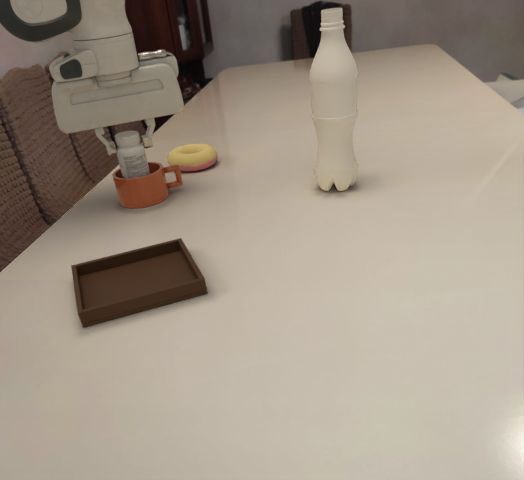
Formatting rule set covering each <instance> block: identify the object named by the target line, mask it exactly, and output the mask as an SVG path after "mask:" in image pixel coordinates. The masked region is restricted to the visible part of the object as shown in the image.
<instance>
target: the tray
mask: <svg viewBox="0 0 524 480" xmlns="http://www.w3.org/2000/svg"><path fill="white" fill-rule="evenodd" d="M71 273H72V281H73V288H74V296H75V305H76V310H77V316H78V318H79V320H80V323H81V325H82V328H87V327H91V326H93V325H97V324H100V323H104V322H108V321H112V320H115V319H119V318H123V317H126V316H130V315H133V314H136V313H141V312H144V311H145V312H146V311H148V310H151V309H155V308H159V307H162V306H166V305H169V304H173V303H177V302H180V301H184V300H187V299H188V300H189V299H191V298H192V299H193V298H195V297H198V296H199V297H200V296H203V295H207V294H208V288H207V283H206V279H205V277H204V275H203V273H202V271H201V270H200V268H199V266H198V265H197V262H196V261H195V259H194V257H193V256H192V254H191V253H190V251H189V249H188V247H187V245H186V244H185V242H184V240H183V239H182V238H181V237H180V238H179V237H178V238H176V239H172V240H167V241H163V242H159V243H156V244H150V245H148V246H144V247H139V248H135V249H132V250H128V251H124V252H120V253H116V254H112V255H108V256H104V257H100V258H95V259H92V260H88V261H84V262H80V263H76V264H72V265H71Z"/></svg>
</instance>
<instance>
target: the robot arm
mask: <svg viewBox="0 0 524 480" xmlns="http://www.w3.org/2000/svg"><path fill="white" fill-rule="evenodd" d="M0 25H1V27H3V28H4V29H5V30H6V31H7V32H8V33H9V34H11V35H12V36H14V37H16V38H17V39H20V40H21V41H24V42H28V43H33V44H34V43H35V44H38V43H39V44H40V43H45V42H48V41H50V40H52V39H54V38H55V37H56V36H59V35H62V34H64V33H69V34H70V36H71V40H72V42H73V43H72V44H73V46H74V48H73V49H72V50H70V51H68V52H66V53H64V54H62V55H61V56H59V57H58V58H56V59H54V60H52V61H51V62H50V63H49V66H48V68H49V69H48V70H49V73H50V75H51V77H52V79H53V83H52V85H51V100H52V107H53V112H54V116H55V121H56V125H57V129H58V130H59V131H61V132H62V133H64V134H65V135H67V134H73V133H79V132H84V131H90V130H93V131H94V135H95V137H96V138H98V140H99V141H100V142H101V143H102V144H103V145H104V146H105V149H106V153H107V156H114V155H117V151H116V148H117V147H116V142H115V140H111V141H108V140H107V138H106V137H105V136H104V135H105V130H104V128H106V127H111V126H112V127H113V126H117V125H122V124H123V125H124V124H128V123H132V122H133V123H135V122H139V121H144V124H145V125H146V126H147V128H146V131H145V134H143V135H140V140H141V141H142V142H141V143H142V144H143V145H144V148H145V149H149V148H154V143H153V139H152V138H153V134H154V131H155V128H156V121H155V118H160V117H166V116H171V115H176V114H181V112H182V111H183V109H184V107H185V103H184V100H183V94H182V90H181V87H180V84H179V81H178V76H179V72H180V71H179V64H178V59H177V58H176V56H175V55H174V54H173V53H172V52H171V51H166V49H163V48H161V49H157V50H154V51H153V50H152V51H143V52H141V51H140V52H137V48H136V43H135V38H134V37H135V36H134V33H133V28H132V25H131V24H130V22H129V20H128V16H127V13H126V0H0Z"/></svg>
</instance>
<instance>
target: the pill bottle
mask: <svg viewBox="0 0 524 480" xmlns="http://www.w3.org/2000/svg"><path fill="white" fill-rule="evenodd" d="M141 141H142V139H141V135H140V133H139V131H137V130H125V131H121V132H118V133H116V134H115V135H114V142H115V146H117V147H116V148H115V149H116V151H117V154H116V157H117V161H118V162H117V163H118V165H119V168H120V169H121V173H122V177H123V178H125V179H129V178H138V177H142V176H146V175H149V174H150V170H149V166H148V162H149V161H148V158H147V154H146V153H147V152H146V148H144V145H143V143H142V142H141Z"/></svg>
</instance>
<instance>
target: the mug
mask: <svg viewBox="0 0 524 480" xmlns="http://www.w3.org/2000/svg"><path fill="white" fill-rule="evenodd" d="M147 162H148V166H149V170H150V174H149V175H146V176H142V177H138V178H129V179H125V178H123V177H122V173H121V169H120V167H119V168H118V169H116V170H114V172H113V173H112V174H111V175H112V180H113V183H114V186H115V190H116V194H117V197H118V200H119V203H120V205H121V206H122V207H124V208H127V209H141V208H148V207H152V206H156V205H158V204H160V203H162V202H164V201H166V200H167V199H168V198H169V195H170V194H169V189H170V190H171V189H174V188H178V187H182V186H183V184H184V182H183V178H182V173H181V172H182V171H180V167H179V165H172V166H170V165H168V166H163V164H162V163H160V162H157V161H147ZM173 172H174V175H175V180H173V181H169V182H167V178H166V174H168V173H173Z"/></svg>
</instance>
